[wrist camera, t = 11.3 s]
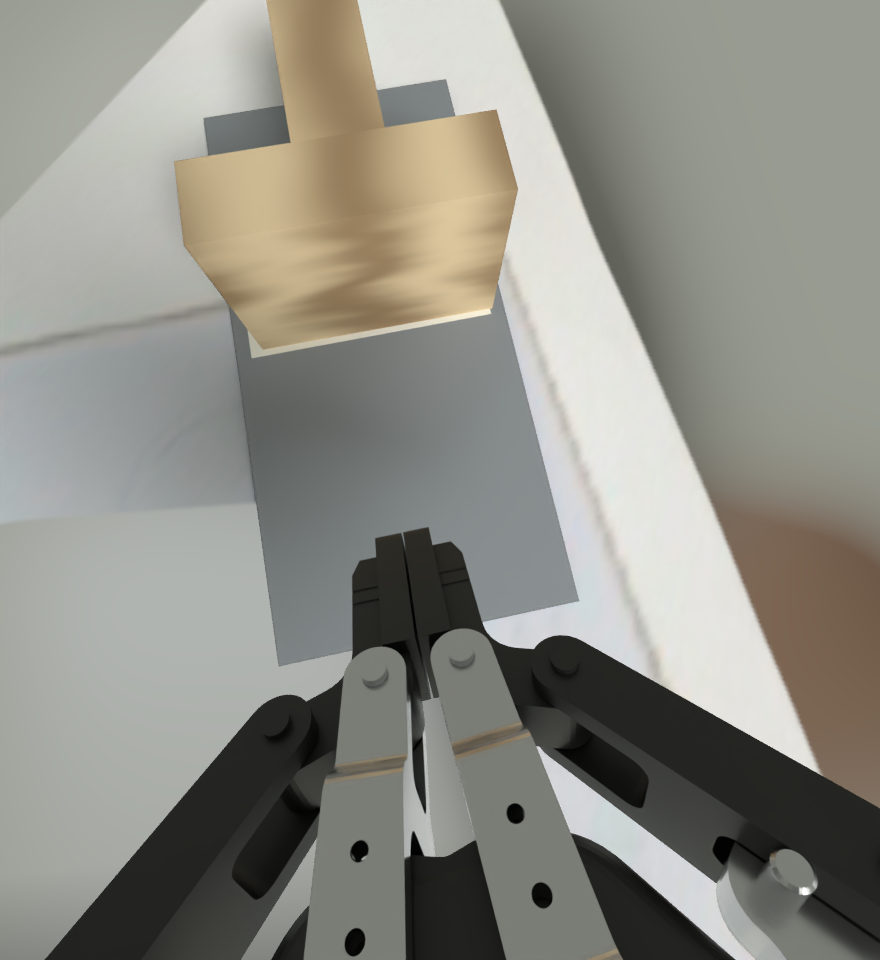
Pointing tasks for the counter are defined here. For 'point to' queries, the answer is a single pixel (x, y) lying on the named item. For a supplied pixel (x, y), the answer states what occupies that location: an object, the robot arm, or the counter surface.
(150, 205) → the counter surface
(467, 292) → the oak T block
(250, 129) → the slate mat
